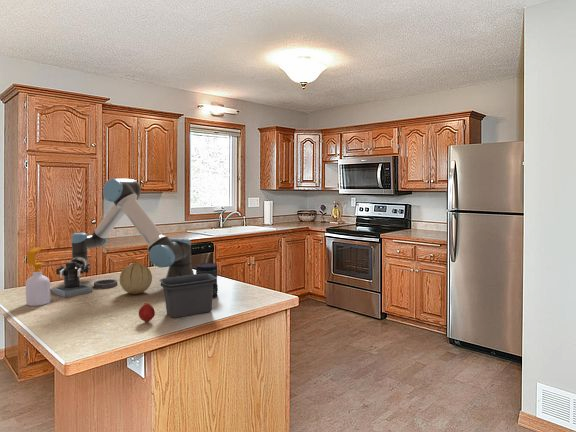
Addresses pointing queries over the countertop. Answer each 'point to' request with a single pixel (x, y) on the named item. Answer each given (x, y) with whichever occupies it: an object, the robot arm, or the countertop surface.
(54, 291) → the tray
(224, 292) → the countertop surface
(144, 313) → the pomegranate
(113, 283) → the holster ring
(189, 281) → the storage bin
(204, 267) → the storage jar
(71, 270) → the supplement bottle
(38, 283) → the soap bottle
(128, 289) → the cantaloupe
